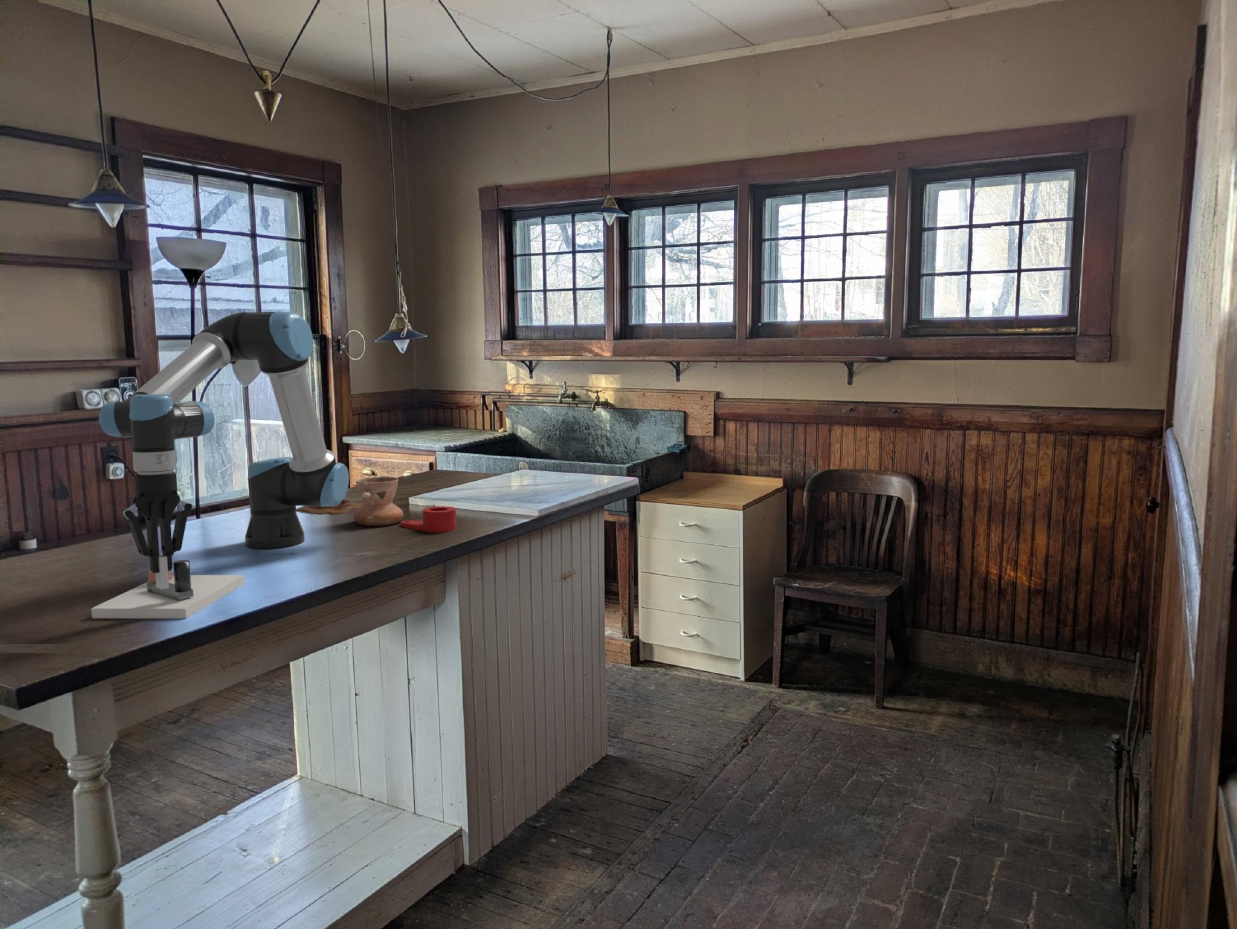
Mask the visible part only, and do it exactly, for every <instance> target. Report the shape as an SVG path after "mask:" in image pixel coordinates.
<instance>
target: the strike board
mask: <svg viewBox="0 0 1237 929" xmlns="http://www.w3.org/2000/svg"><path fill="white" fill-rule="evenodd" d="M172 571H173V569H172V570H171V571H168V581H169V583H172V584H175V582H174V574H173V573H172ZM190 577H191V589H193V596H194V597H190V598H185V599H181V600H178V599H174V598H171V597H168V596H165V595H161V594H158V593H155V592H149V591H147V583H148V582H151V581H156V574H155V573H152V572H151V570H149V571H148V572H147V580H148V581H146V582H144V583H142V584H140V585H137V586H136V587H134V588H132V589H129V590H127V591H126V592H123V593H121V594H119V595H116V596H115V597H112V598H110V599H109V600H106V601H104V602H102V603H100V604H98V605H96V606H94V607H92V608H91V607H90V609H91V619H188V618H190V617H191V616H193V615H195V614H197V613H198V612H199V611H201V610H203V609H204V608H206V607H208V606H210V605H211V604H213V603H214V602H217V601H218V600H220V599H222V598H223V597H225V596H227V595H228V594H230V593H232V592H234V591H235V590H237V589H238V588H240V587H242V586H244V585H245V584H246V582H245V580H246V579H245V575H243V574H232V575H231V574H227V575H226V574H221V575H220V574H206V575H205V574H190Z"/></svg>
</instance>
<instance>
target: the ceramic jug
mask: <svg viewBox="0 0 1237 929" xmlns="http://www.w3.org/2000/svg"><path fill="white" fill-rule="evenodd" d="M398 485H399V478H398V477H394V476H389V475H387V476H385V475H384V476H383V475H382V476H368V477H361V478H358V479H356V480H355V486H356V489H357V491H358V494H359V497H360V499H361V501H362V502H363V503H362V504H363V505H362V506H361V507H360V508H359V509H355V512H354V514H353V519H354V522H355V523H356V524H357V525H359V526H362V527H374V528H375V527H385V526H391V525H395V524H398V523H399V522H401V520H402V521H403V518H404V511H403V510H402V509H401V508H400V507H399V506H398V505H396V504H394V503H393V500H394V498H395V495H396V493H397V492H396V491H397V490H398V489H397V488H398Z"/></svg>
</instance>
